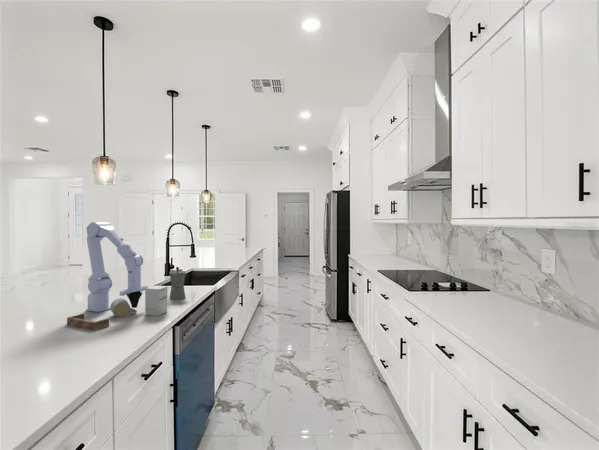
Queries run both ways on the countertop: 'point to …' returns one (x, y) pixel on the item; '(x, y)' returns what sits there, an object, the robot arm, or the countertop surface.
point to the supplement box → (156, 300)
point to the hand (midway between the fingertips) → (134, 307)
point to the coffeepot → (177, 284)
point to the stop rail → (87, 322)
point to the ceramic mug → (121, 308)
